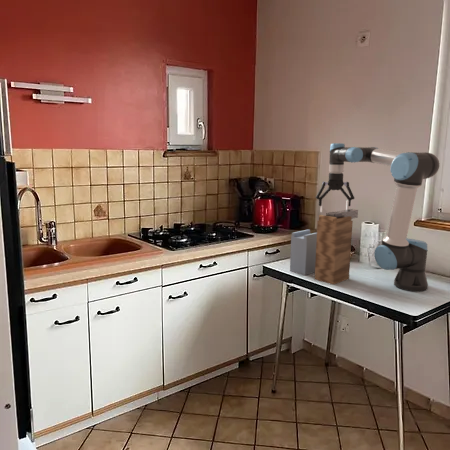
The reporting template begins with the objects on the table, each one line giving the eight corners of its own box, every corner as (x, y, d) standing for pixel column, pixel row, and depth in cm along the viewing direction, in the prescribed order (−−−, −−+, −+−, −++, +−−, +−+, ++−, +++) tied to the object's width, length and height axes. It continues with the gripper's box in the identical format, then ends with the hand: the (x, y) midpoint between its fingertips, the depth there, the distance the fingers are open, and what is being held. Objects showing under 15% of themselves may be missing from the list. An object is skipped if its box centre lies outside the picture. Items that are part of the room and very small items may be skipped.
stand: (348, 278, 232) (353, 214, 226) (333, 284, 222) (337, 217, 216) (330, 274, 240) (334, 212, 234) (314, 279, 230) (317, 214, 224)
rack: (320, 270, 246) (322, 232, 242) (305, 275, 237) (306, 235, 233) (305, 266, 254) (307, 229, 250) (289, 271, 244) (291, 232, 240)
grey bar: (358, 217, 235) (359, 210, 234) (334, 222, 220) (334, 214, 220) (349, 216, 239) (350, 208, 238) (325, 221, 224) (325, 213, 223)
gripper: (358, 172, 246) (355, 211, 250) (311, 172, 247) (310, 210, 251) (361, 173, 239) (359, 213, 242) (313, 172, 240) (312, 212, 243)
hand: (334, 212), depth 246 cm, fingers open, 13 cm apart
